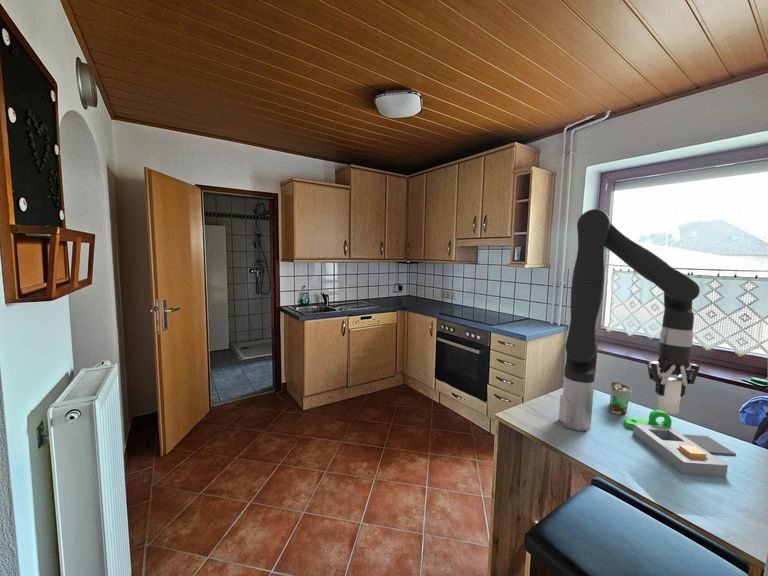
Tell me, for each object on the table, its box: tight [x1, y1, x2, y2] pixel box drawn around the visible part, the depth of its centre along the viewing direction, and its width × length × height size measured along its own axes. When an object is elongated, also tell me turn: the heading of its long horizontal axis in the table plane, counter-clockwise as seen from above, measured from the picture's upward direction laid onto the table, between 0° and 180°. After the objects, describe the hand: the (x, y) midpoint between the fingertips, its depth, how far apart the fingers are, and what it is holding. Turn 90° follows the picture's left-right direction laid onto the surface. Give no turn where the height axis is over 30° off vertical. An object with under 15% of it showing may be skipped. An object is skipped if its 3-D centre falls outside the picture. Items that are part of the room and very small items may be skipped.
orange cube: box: [679, 445, 706, 460], centre depth 94 cm, size 4×4×4 cm
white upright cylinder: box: [657, 376, 682, 415], centre depth 103 cm, size 5×5×10 cm
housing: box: [632, 424, 729, 478], centre depth 100 cm, size 11×21×4 cm, turn 174°
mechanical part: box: [623, 409, 672, 430], centre depth 115 cm, size 12×6×8 cm, turn 64°
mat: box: [682, 434, 737, 456], centre depth 105 cm, size 10×10×1 cm
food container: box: [609, 380, 633, 416], centre depth 127 cm, size 12×6×10 cm, turn 148°
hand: (669, 395), depth 103 cm, fingers closed on white upright cylinder, 5 cm apart
